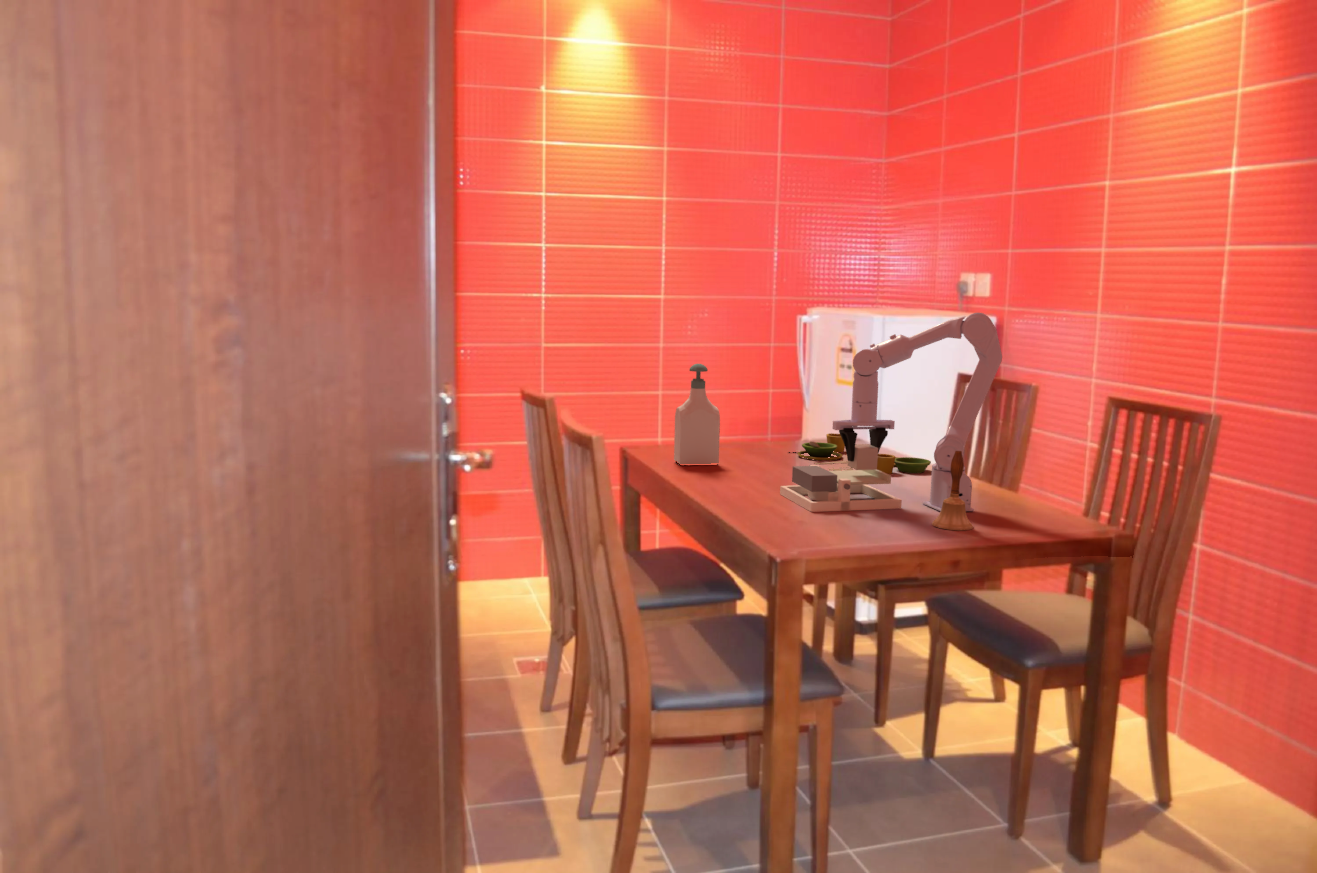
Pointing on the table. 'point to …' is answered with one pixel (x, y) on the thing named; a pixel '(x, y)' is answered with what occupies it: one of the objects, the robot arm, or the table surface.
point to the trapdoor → (835, 478)
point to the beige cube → (864, 457)
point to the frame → (840, 498)
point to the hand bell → (954, 501)
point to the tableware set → (837, 445)
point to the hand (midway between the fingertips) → (861, 460)
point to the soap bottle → (697, 425)
